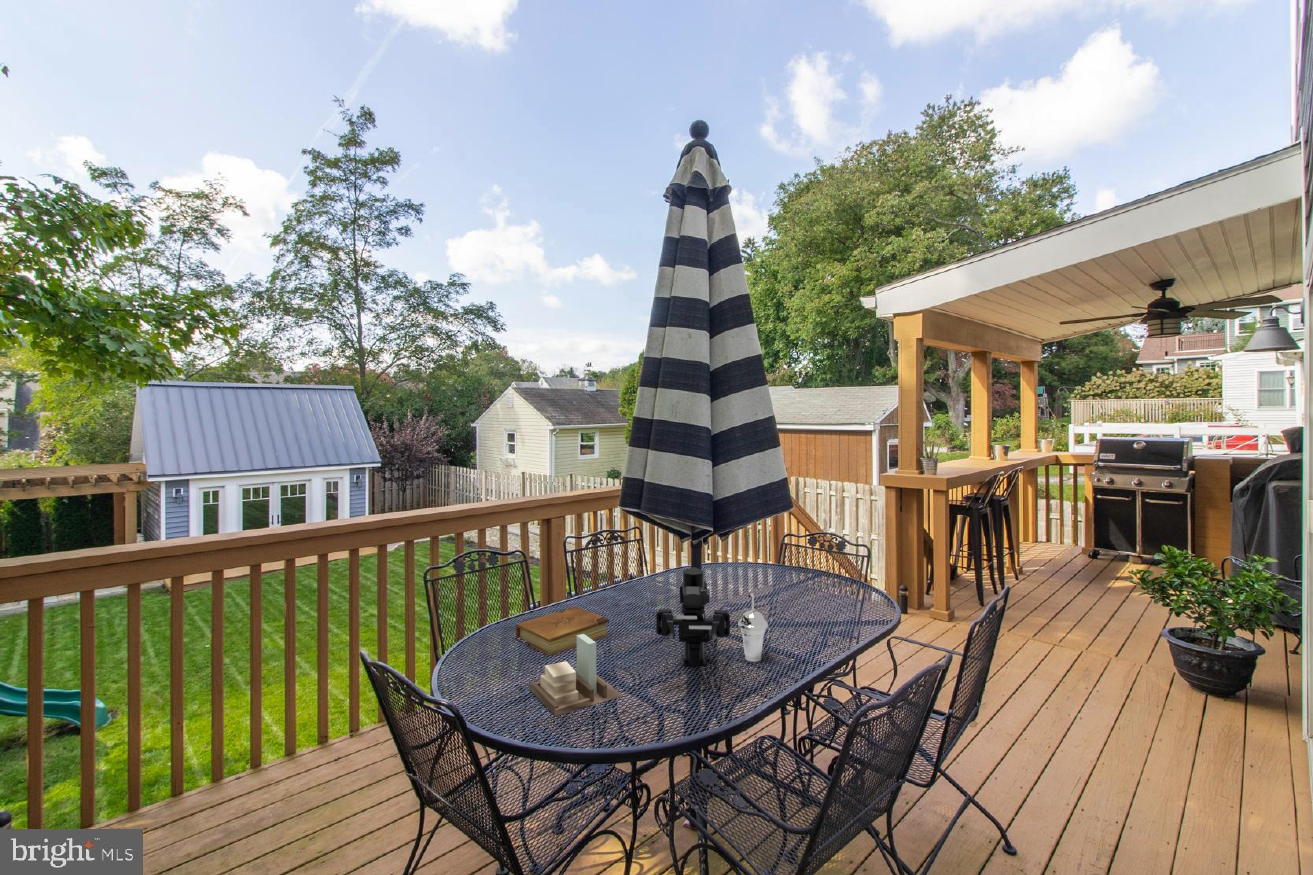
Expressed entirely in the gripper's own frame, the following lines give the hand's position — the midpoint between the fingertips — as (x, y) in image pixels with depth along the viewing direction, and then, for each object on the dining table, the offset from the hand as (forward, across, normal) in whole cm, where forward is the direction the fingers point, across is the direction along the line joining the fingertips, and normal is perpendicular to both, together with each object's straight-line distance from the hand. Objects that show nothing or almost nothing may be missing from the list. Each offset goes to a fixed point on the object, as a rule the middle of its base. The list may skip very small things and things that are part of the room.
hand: (692, 637), depth 141 cm
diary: (-40, -42, +20) cm, 61 cm away
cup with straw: (-27, +17, +19) cm, 37 cm away
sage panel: (-3, -27, +16) cm, 31 cm away
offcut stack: (+1, -33, +16) cm, 36 cm away
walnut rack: (-2, -29, +17) cm, 33 cm away
